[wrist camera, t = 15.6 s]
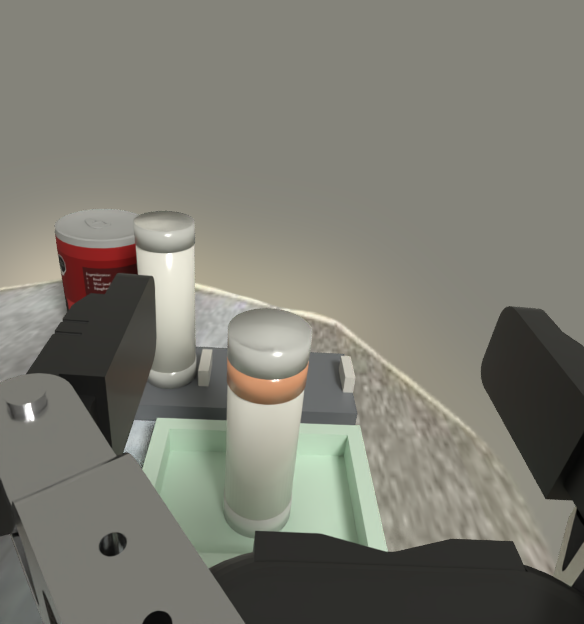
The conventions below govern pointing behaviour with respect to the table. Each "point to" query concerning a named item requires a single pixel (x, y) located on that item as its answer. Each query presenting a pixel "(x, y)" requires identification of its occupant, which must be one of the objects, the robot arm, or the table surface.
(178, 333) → the plain fuse
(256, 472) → the cylinder
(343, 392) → the clip block
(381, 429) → the table surface
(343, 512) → the tray
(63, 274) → the canned food
